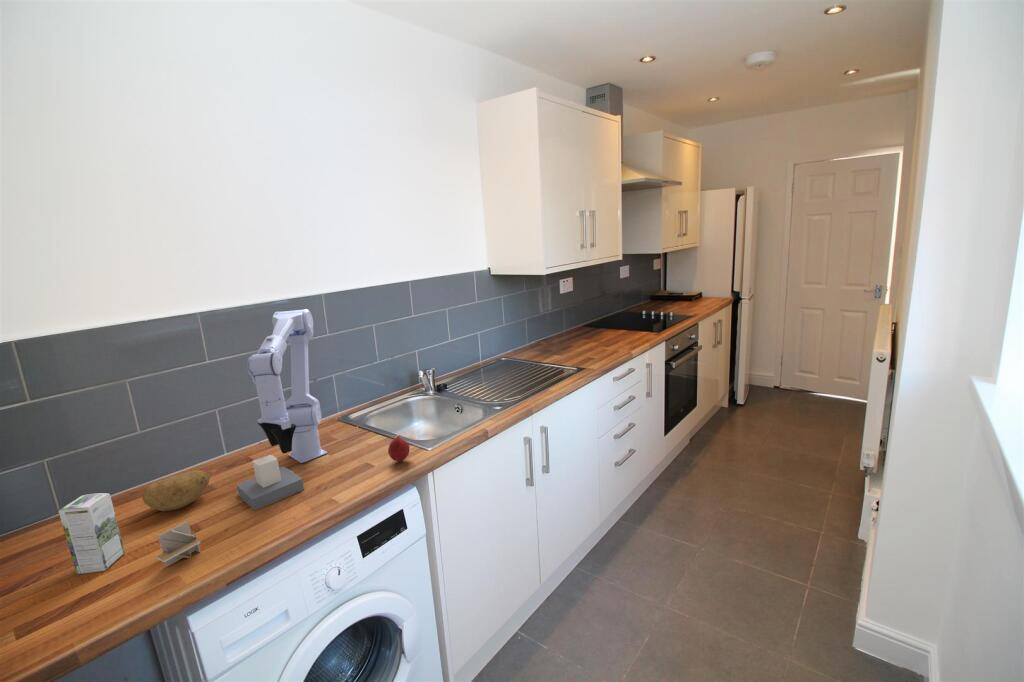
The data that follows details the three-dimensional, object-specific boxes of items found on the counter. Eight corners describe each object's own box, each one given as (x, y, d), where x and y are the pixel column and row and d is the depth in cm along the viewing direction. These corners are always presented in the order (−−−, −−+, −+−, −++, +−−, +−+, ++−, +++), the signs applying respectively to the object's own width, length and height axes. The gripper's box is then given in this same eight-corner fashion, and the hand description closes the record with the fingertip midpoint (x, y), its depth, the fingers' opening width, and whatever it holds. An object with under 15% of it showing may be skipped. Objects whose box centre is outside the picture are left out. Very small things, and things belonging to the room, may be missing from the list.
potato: (219, 499, 121) (212, 470, 120) (152, 525, 112) (144, 494, 110) (207, 487, 128) (201, 460, 126) (143, 511, 118) (135, 482, 116)
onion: (405, 467, 131) (402, 440, 129) (386, 466, 132) (382, 439, 130) (414, 457, 136) (410, 431, 135) (395, 457, 137) (392, 431, 136)
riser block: (238, 495, 123) (236, 484, 122) (285, 476, 131) (283, 466, 130) (254, 510, 114) (252, 499, 114) (304, 489, 123) (302, 478, 122)
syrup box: (97, 556, 101) (79, 494, 98) (127, 553, 101) (109, 491, 98) (76, 575, 95) (55, 510, 92) (107, 571, 96) (87, 506, 93)
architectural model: (205, 556, 99) (197, 524, 97) (168, 577, 93) (159, 543, 92) (196, 551, 101) (188, 520, 99) (159, 572, 95) (150, 539, 93)
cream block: (256, 482, 122) (252, 461, 121) (274, 475, 125) (270, 454, 124) (263, 487, 119) (258, 465, 118) (281, 480, 122) (277, 459, 121)
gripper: (245, 398, 123) (255, 446, 126) (265, 409, 113) (275, 461, 116) (273, 390, 128) (282, 437, 131) (295, 400, 118) (304, 451, 121)
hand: (281, 448), depth 124 cm, fingers open, 7 cm apart
